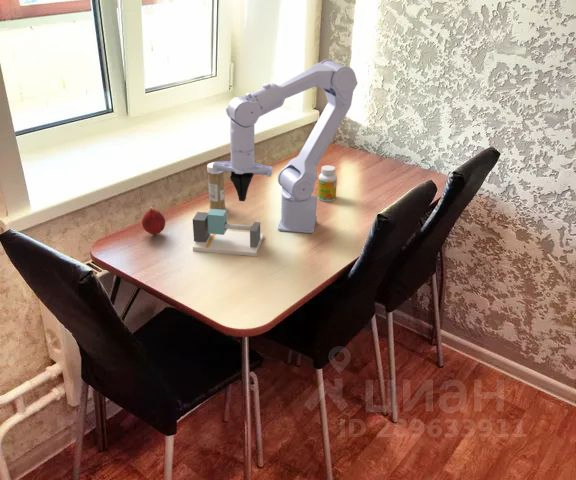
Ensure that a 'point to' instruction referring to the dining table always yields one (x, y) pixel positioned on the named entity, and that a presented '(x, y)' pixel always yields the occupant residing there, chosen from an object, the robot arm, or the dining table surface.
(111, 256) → the dining table surface
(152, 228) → the onion
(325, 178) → the supplement bottle
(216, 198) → the sprinkles bottle
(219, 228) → the sleeve
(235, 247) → the sliding block rail
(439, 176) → the dining table surface
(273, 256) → the dining table surface
